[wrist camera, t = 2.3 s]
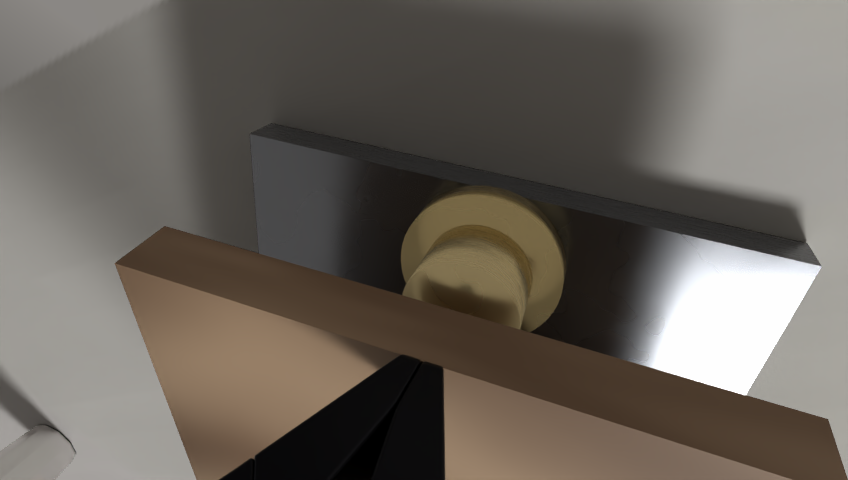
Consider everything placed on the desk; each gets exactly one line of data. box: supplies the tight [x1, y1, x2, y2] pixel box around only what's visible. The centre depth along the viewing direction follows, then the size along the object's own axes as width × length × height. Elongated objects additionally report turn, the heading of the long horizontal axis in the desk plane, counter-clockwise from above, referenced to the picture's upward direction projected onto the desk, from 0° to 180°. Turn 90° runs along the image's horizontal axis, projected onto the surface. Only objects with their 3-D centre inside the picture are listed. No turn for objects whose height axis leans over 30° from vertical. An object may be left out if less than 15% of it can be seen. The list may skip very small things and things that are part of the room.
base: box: [250, 123, 822, 395], centre depth 18 cm, size 16×16×4 cm
